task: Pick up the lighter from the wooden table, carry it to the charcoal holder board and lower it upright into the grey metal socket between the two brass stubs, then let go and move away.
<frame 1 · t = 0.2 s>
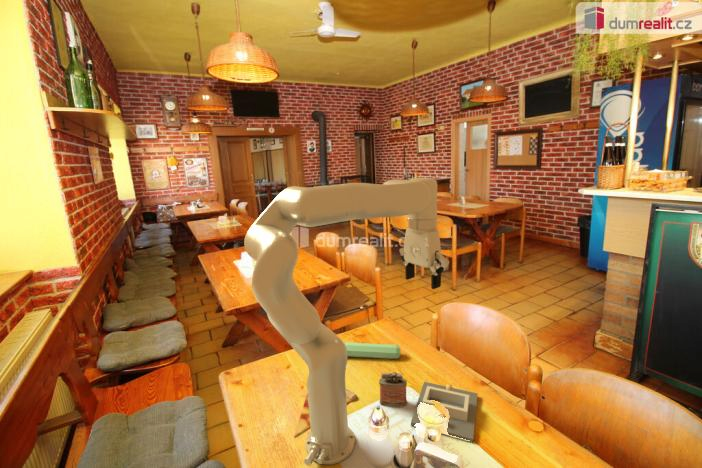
hand: (422, 282, 97), 36 cm above the table, tool pointing down, fingers open, 9 cm apart
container: (366, 357, 127), on the table
pizza slice: (312, 403, 105), on the table
holder: (445, 410, 98), on the table
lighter: (393, 403, 103), on the table
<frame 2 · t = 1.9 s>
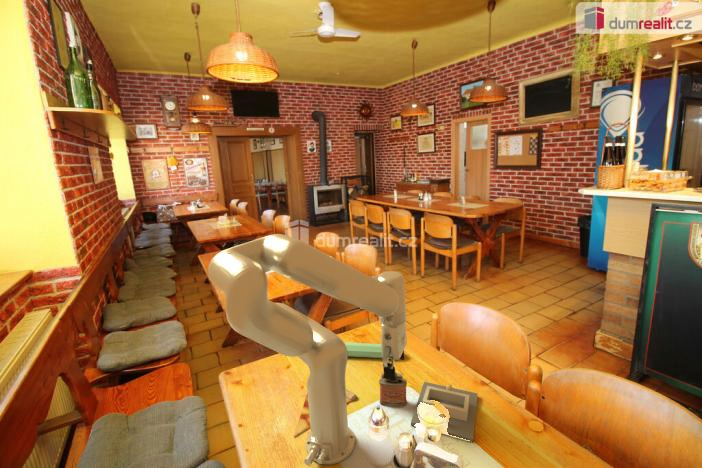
hand: (394, 368, 100), 11 cm above the table, tool pointing down, fingers open, 9 cm apart
nothing on the table moved.
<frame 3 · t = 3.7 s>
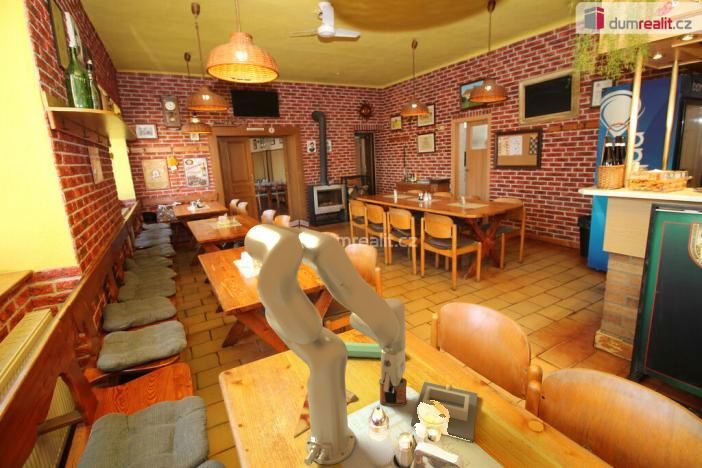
hand: (393, 396, 102), 2 cm above the table, tool pointing down, fingers closed on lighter, 4 cm apart
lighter: (393, 403, 103), on the table, touching gripper
everything else where it was.
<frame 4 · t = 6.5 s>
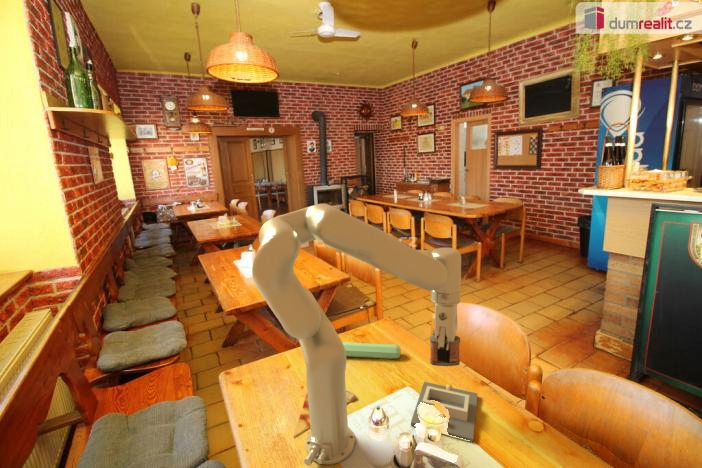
hand: (444, 355, 95), 18 cm above the table, tool pointing down, fingers closed on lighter, 4 cm apart
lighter: (444, 363, 95), point 15 cm above the table, touching gripper
everything else where it was.
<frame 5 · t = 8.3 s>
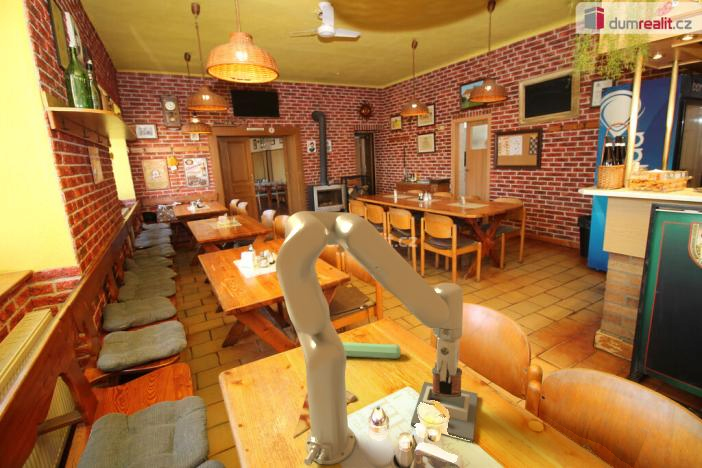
hand: (446, 387, 97), 8 cm above the table, tool pointing down, fingers closed on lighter, 4 cm apart
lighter: (446, 394, 97), point 5 cm above the table, touching gripper
everything else where it was.
when the fingers open (5 cm above the table, at t = 9.5 s): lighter drops 2 cm, resting on holder.
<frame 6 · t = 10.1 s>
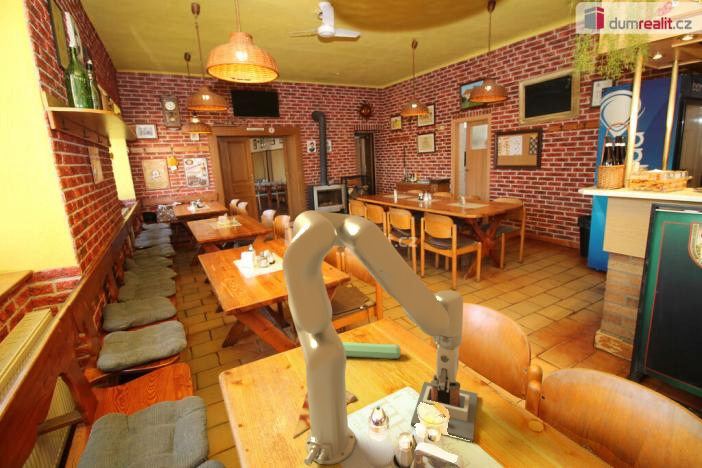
hand: (446, 390, 97), 7 cm above the table, tool pointing down, fingers open, 9 cm apart
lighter: (445, 407, 98), point 1 cm above the table, touching holder
everything else where it was.
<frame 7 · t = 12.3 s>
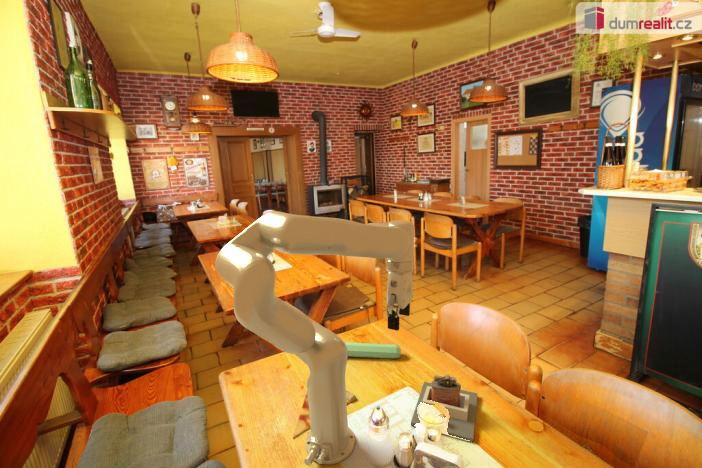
hand: (399, 321, 99), 25 cm above the table, tool pointing down, fingers open, 9 cm apart
nothing on the table moved.
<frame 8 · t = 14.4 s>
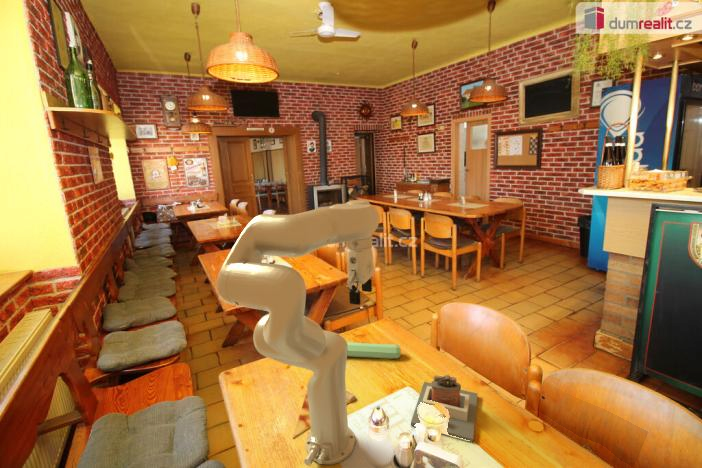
hand: (361, 297, 104), 30 cm above the table, tool pointing down, fingers open, 9 cm apart
nothing on the table moved.
at the end: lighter 0.1 cm off-centre on the holder, point 1.0 cm above the holder's base; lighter tilted 0°; the gripper is holding nothing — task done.
